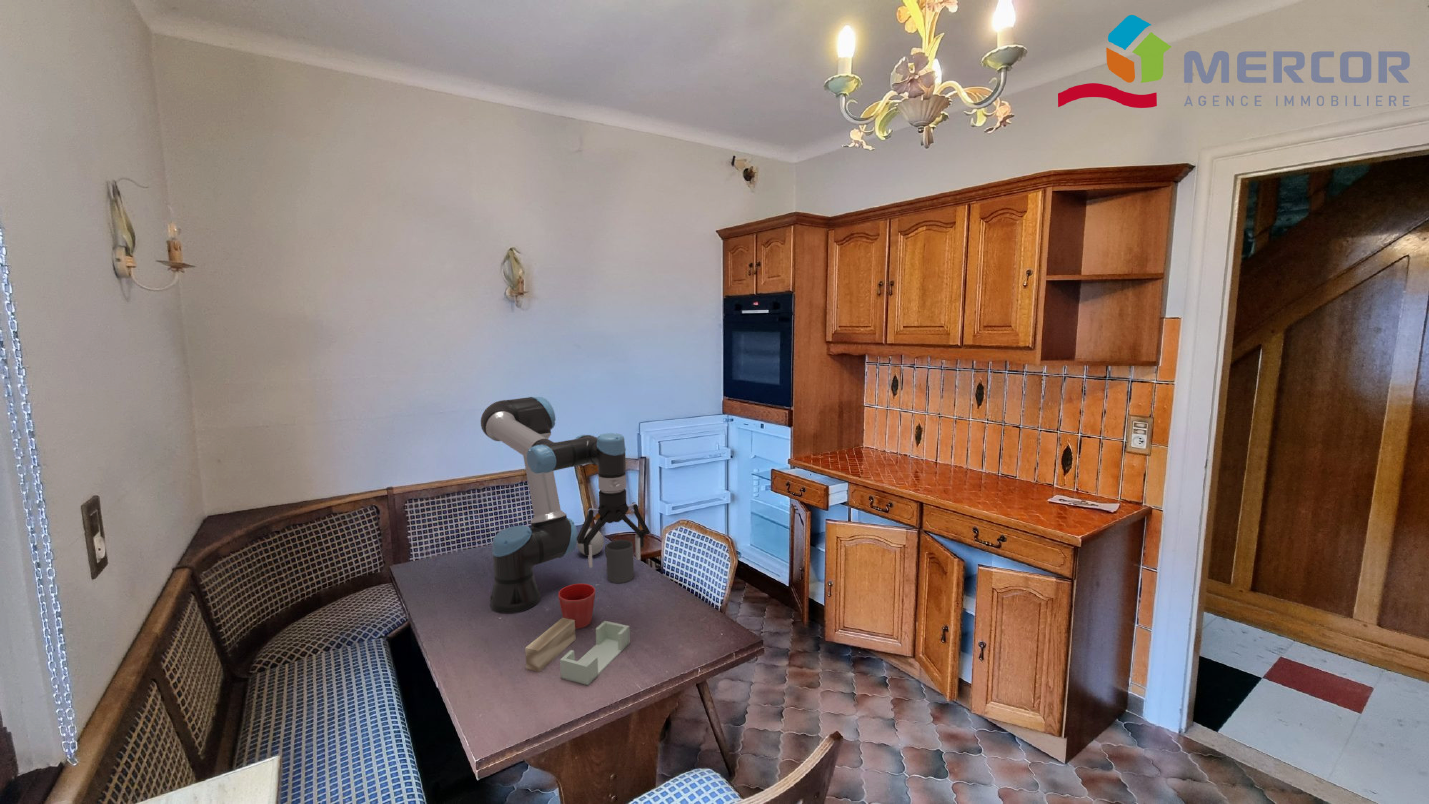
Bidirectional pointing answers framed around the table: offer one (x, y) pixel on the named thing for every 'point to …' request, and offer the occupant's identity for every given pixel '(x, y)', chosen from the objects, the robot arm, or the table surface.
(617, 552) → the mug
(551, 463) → the robot arm
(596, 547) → the ball
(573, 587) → the flower pot
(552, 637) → the wooden block
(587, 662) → the green tray
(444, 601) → the table surface
